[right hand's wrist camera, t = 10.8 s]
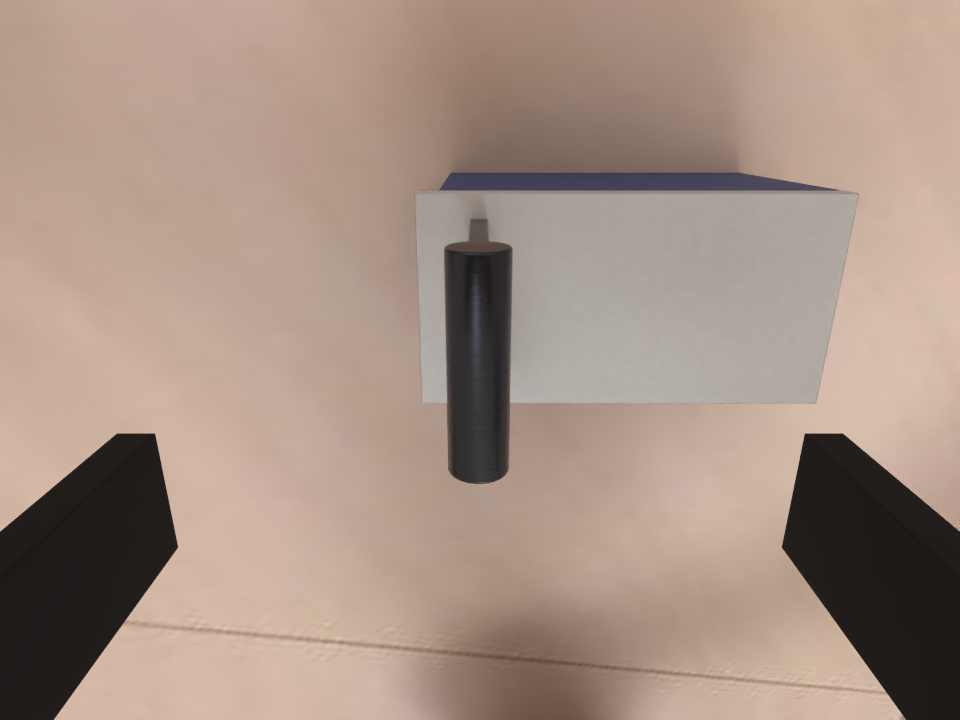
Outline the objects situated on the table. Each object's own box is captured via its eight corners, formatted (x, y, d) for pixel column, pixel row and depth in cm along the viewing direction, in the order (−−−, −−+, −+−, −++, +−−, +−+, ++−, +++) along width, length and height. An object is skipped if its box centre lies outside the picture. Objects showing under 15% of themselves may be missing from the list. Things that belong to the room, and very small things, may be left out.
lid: (424, 392, 29) (399, 507, 20) (417, 190, 26) (384, 221, 17) (803, 393, 29) (943, 507, 20) (842, 190, 26) (1029, 222, 17)
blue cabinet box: (452, 324, 39) (442, 392, 29) (450, 173, 36) (438, 190, 26) (719, 324, 39) (802, 392, 29) (740, 173, 36) (842, 190, 26)
